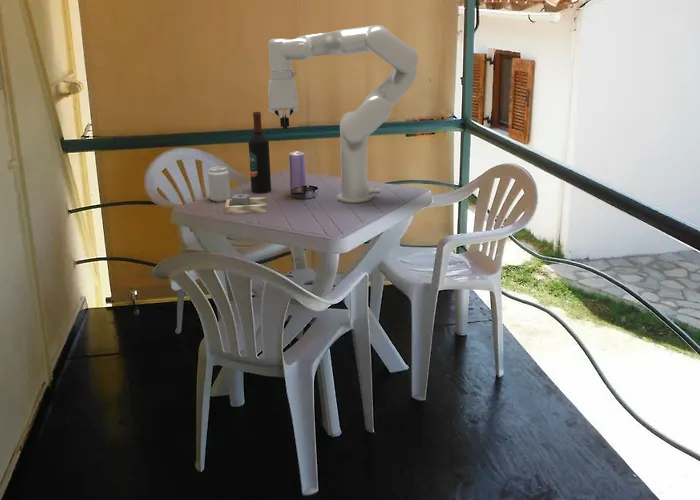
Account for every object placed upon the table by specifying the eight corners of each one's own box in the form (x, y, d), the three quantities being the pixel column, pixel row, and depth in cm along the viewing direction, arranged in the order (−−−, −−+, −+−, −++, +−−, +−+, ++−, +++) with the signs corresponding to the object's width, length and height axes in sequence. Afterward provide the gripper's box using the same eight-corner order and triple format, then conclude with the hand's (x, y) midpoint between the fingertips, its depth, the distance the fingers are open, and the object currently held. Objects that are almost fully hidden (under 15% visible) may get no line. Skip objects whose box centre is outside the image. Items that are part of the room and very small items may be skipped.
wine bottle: (268, 193, 275) (264, 114, 265) (249, 193, 276) (244, 113, 266) (273, 188, 282) (269, 110, 272) (254, 188, 283) (249, 110, 273)
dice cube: (250, 208, 257) (249, 194, 256) (246, 212, 253) (245, 198, 251) (236, 207, 258) (235, 194, 256) (232, 212, 253) (231, 198, 252)
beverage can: (303, 194, 274) (302, 155, 268) (288, 193, 275) (286, 154, 270) (307, 190, 279) (306, 151, 274) (292, 189, 280) (291, 151, 275)
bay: (266, 204, 262) (266, 197, 261) (267, 212, 252) (266, 205, 251) (227, 205, 260) (226, 199, 259) (225, 214, 251) (225, 207, 250)
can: (216, 203, 263) (214, 171, 259) (206, 199, 269) (203, 167, 265) (234, 199, 268) (232, 167, 264) (224, 195, 273) (221, 164, 269)
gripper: (302, 73, 256) (305, 125, 262) (259, 75, 254) (263, 128, 260) (303, 75, 249) (307, 129, 255) (260, 78, 247) (264, 131, 253)
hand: (285, 128), depth 257 cm, fingers closed
